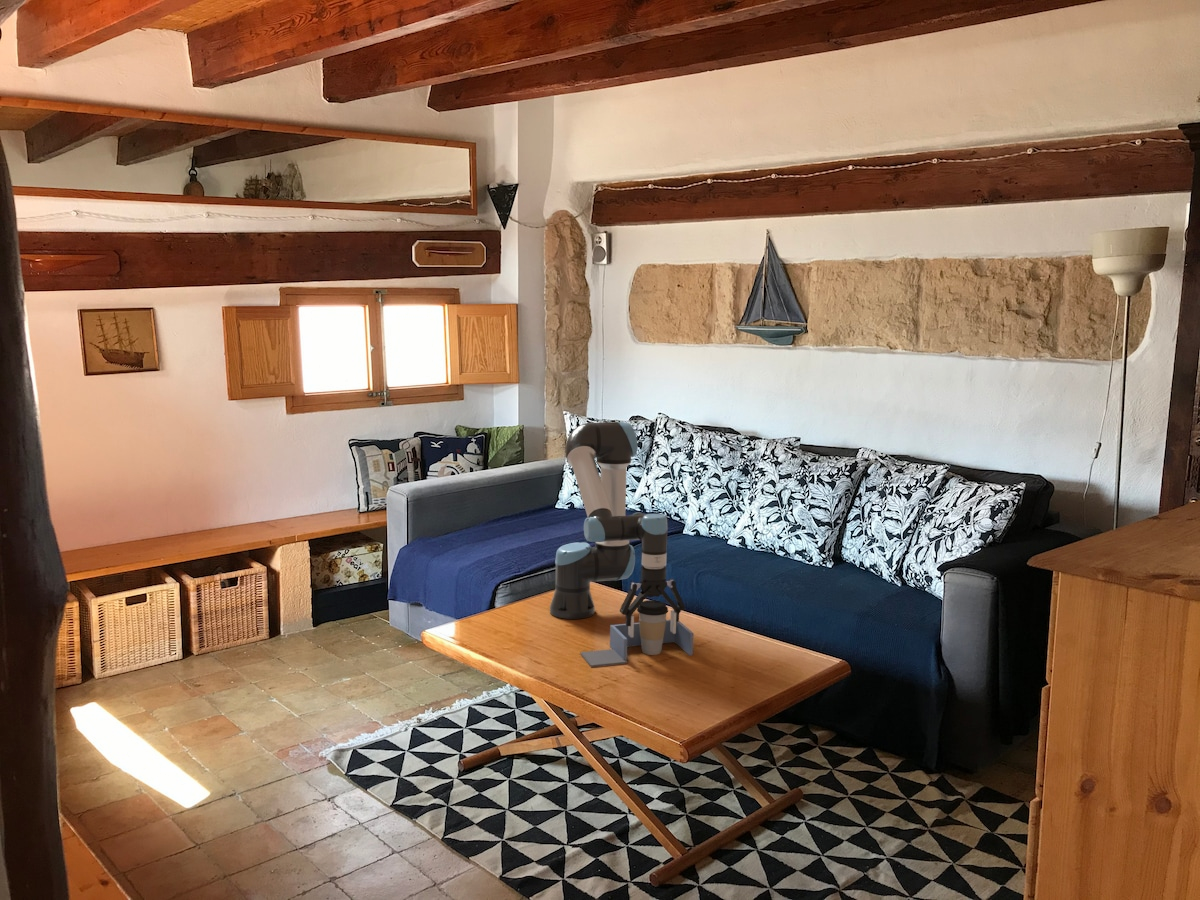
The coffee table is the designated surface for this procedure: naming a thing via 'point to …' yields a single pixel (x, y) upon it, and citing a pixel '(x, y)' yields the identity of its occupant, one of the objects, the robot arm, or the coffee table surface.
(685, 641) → the grey u-shaped wall
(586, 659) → the coaster
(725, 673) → the coffee table surface
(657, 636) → the coffee cup
